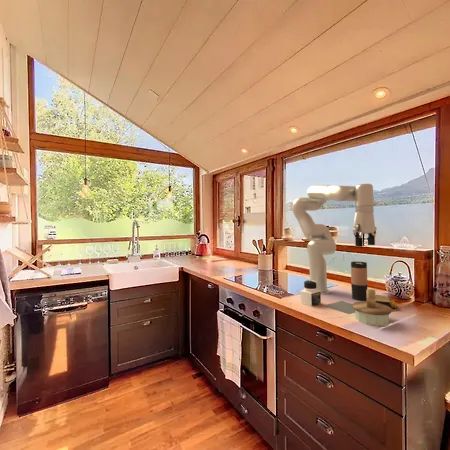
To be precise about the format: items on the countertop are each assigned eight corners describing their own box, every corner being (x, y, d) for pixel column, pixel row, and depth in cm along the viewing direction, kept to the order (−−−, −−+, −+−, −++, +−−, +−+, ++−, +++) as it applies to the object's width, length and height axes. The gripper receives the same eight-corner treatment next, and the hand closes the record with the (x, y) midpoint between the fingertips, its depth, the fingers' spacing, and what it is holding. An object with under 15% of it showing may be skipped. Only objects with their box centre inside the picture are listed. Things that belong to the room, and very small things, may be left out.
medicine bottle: (311, 307, 123) (311, 283, 123) (300, 303, 129) (299, 280, 129) (321, 304, 127) (320, 281, 127) (309, 301, 133) (309, 278, 133)
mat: (323, 306, 124) (323, 305, 124) (341, 301, 130) (341, 300, 130) (349, 315, 111) (349, 314, 111) (367, 309, 118) (367, 308, 118)
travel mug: (354, 296, 138) (353, 261, 138) (369, 299, 133) (368, 262, 133) (349, 300, 133) (348, 262, 133) (365, 303, 128) (364, 264, 128)
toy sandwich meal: (367, 310, 117) (367, 300, 117) (368, 302, 129) (367, 293, 129) (400, 315, 111) (399, 304, 111) (397, 306, 123) (397, 296, 123)
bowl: (349, 319, 107) (349, 307, 107) (366, 313, 113) (366, 302, 113) (378, 329, 96) (377, 316, 96) (395, 322, 102) (394, 310, 102)
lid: (345, 307, 107) (345, 289, 107) (365, 301, 114) (364, 284, 114) (378, 317, 95) (378, 296, 95) (398, 310, 102) (398, 291, 102)
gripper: (367, 210, 127) (368, 244, 127) (345, 210, 118) (346, 246, 118) (382, 209, 120) (383, 244, 120) (360, 209, 112) (361, 247, 112)
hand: (365, 245), depth 119 cm, fingers open, 9 cm apart
